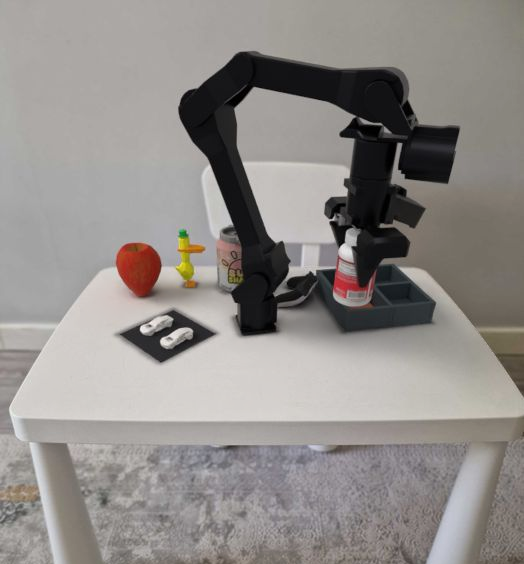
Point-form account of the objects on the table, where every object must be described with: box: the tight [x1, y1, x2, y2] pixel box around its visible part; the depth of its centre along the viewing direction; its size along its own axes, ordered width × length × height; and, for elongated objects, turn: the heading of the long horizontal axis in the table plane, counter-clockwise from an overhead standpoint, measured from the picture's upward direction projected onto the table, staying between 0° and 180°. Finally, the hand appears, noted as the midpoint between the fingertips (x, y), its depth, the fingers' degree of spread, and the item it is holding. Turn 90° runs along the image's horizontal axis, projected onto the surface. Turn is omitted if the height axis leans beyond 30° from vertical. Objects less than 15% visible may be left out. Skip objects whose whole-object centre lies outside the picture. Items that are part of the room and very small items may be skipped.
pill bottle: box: [333, 228, 377, 307], centre depth 70 cm, size 6×6×11 cm
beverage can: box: [215, 224, 243, 294], centre depth 93 cm, size 9×8×12 cm
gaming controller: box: [274, 270, 318, 308], centre depth 91 cm, size 11×4×7 cm
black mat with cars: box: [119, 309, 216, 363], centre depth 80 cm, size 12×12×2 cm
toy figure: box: [173, 228, 206, 288], centre depth 93 cm, size 7×4×12 cm, turn 89°
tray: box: [314, 263, 437, 333], centre depth 90 cm, size 17×17×4 cm
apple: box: [115, 242, 163, 297], centre depth 90 cm, size 9×8×11 cm
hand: (354, 277), depth 71 cm, fingers closed on pill bottle, 6 cm apart
